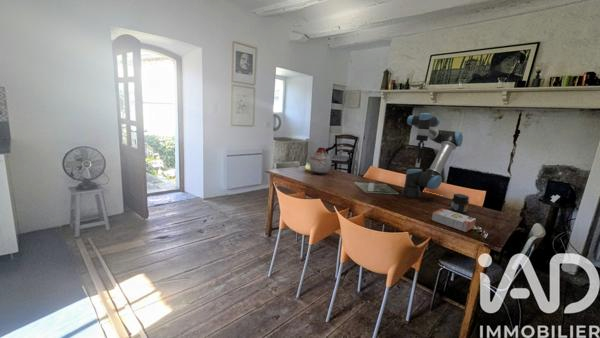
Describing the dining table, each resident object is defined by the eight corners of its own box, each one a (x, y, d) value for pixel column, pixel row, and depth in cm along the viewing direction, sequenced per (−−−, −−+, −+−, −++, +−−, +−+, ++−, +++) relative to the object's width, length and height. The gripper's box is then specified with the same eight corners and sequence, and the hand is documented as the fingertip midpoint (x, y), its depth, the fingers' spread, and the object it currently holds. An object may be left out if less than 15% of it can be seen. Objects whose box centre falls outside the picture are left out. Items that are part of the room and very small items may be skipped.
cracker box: (441, 207, 178) (476, 218, 163) (440, 215, 180) (474, 227, 164) (432, 211, 169) (468, 223, 154) (430, 220, 171) (466, 232, 155)
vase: (319, 170, 297) (321, 146, 291) (335, 175, 280) (337, 149, 274) (304, 172, 282) (305, 146, 276) (319, 177, 265) (321, 150, 259)
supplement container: (469, 212, 190) (472, 197, 187) (461, 214, 185) (464, 198, 182) (455, 207, 199) (458, 192, 196) (446, 209, 194) (449, 194, 191)
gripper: (416, 134, 196) (411, 164, 201) (417, 135, 184) (412, 167, 189) (427, 134, 193) (422, 166, 198) (429, 136, 181) (423, 169, 186)
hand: (417, 167), depth 194 cm, fingers closed
